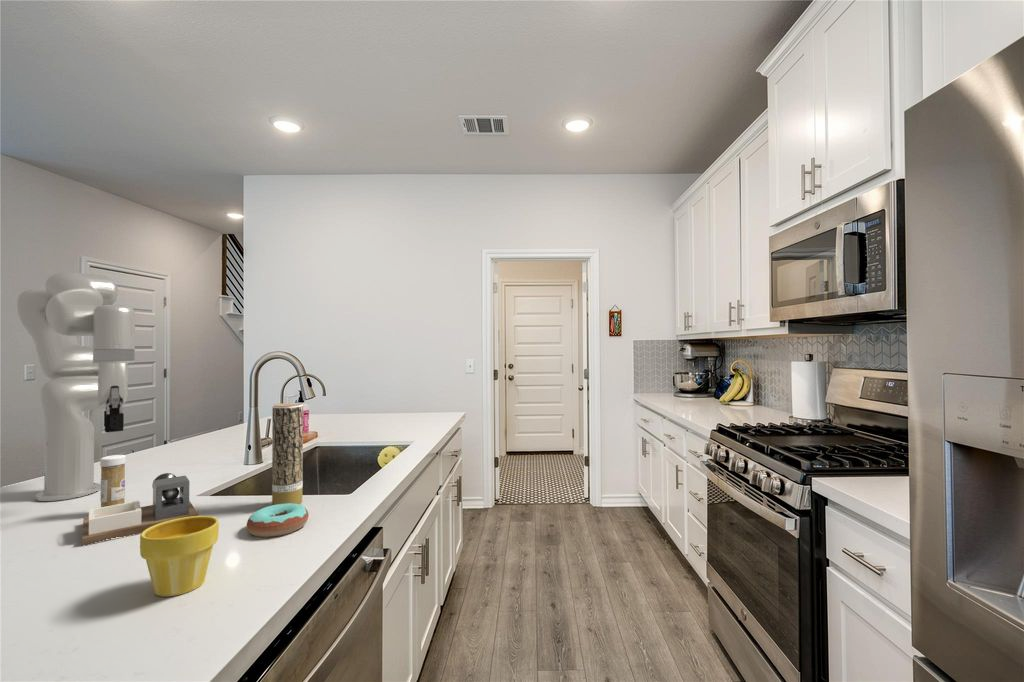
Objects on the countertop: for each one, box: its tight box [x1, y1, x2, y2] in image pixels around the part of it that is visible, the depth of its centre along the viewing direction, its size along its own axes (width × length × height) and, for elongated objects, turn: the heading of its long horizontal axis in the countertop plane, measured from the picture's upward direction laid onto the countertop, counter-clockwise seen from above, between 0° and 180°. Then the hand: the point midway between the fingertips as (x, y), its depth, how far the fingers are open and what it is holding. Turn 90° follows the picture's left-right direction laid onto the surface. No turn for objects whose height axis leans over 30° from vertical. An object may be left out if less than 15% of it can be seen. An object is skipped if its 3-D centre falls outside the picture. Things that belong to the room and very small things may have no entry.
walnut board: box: [81, 500, 199, 547], centre depth 101 cm, size 15×19×2 cm
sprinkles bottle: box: [99, 454, 127, 508], centre depth 107 cm, size 5×5×14 cm
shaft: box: [152, 472, 180, 501], centre depth 106 cm, size 11×5×5 cm, turn 43°
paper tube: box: [271, 402, 304, 506], centre depth 112 cm, size 7×7×25 cm
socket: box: [88, 500, 142, 535], centre depth 96 cm, size 8×8×3 cm
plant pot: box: [139, 515, 220, 598], centre depth 74 cm, size 10×10×10 cm
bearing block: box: [152, 475, 190, 521], centre depth 102 cm, size 6×6×8 cm
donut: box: [246, 503, 309, 538], centre depth 98 cm, size 12×12×4 cm
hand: (113, 428), depth 107 cm, fingers open, 9 cm apart
